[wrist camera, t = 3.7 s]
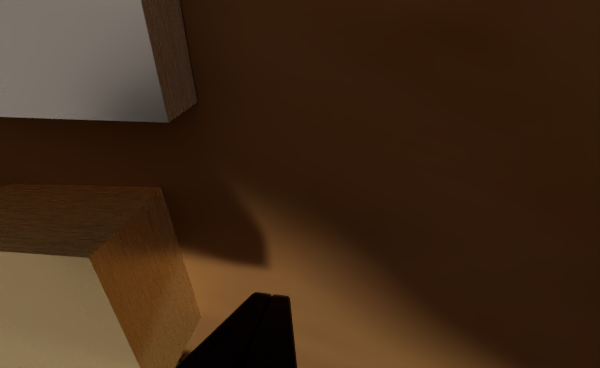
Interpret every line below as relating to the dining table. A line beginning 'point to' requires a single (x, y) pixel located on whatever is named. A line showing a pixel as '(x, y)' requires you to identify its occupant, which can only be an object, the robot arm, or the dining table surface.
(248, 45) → the dining table surface
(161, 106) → the plate
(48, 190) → the tan block
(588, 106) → the dining table surface
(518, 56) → the dining table surface
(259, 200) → the dining table surface
